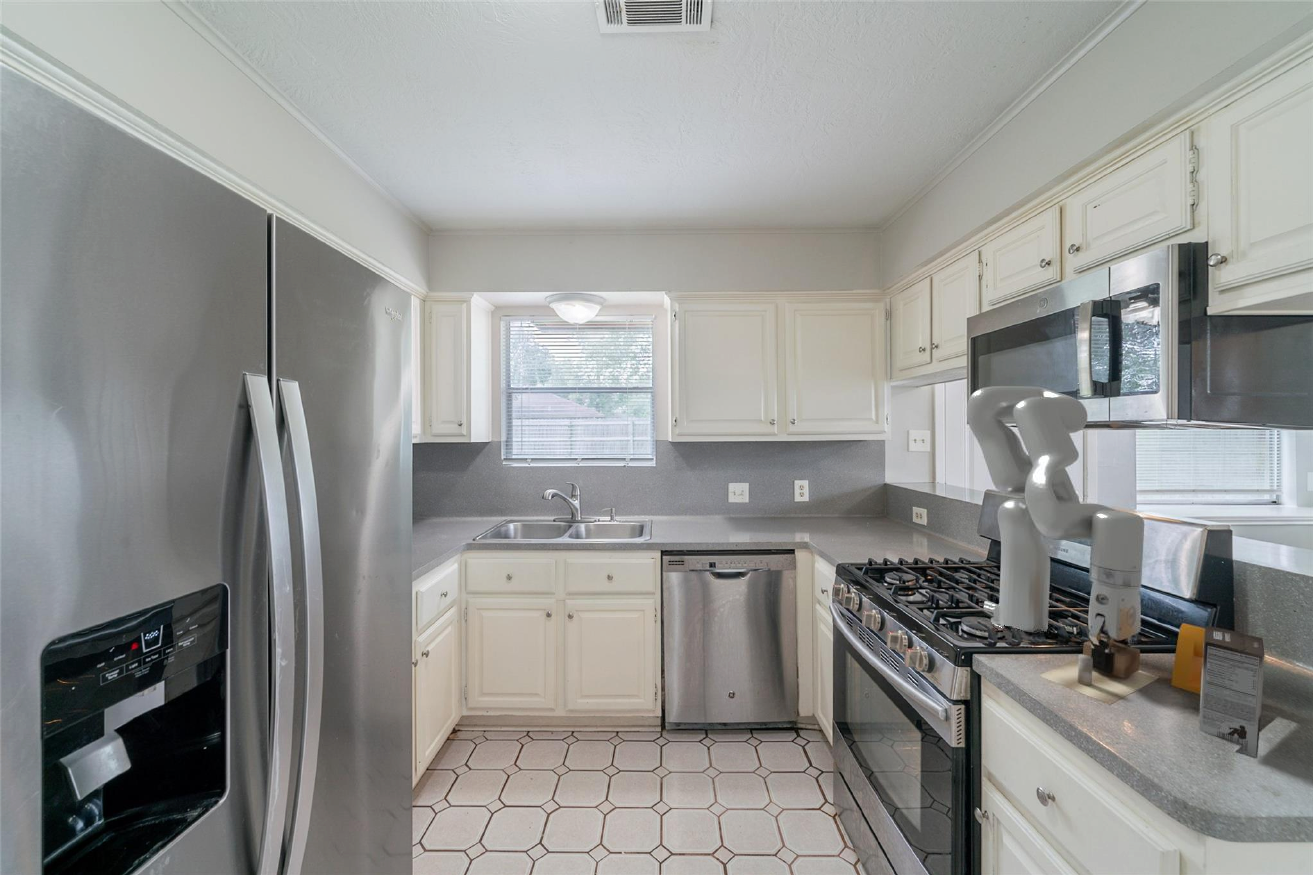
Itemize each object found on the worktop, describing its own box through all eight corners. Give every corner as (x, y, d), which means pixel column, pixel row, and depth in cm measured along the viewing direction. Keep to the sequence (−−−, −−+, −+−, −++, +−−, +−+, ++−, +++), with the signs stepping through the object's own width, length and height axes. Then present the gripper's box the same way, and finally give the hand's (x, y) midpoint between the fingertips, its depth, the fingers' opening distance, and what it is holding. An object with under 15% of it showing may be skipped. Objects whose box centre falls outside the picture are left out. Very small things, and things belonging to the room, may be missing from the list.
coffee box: (1199, 717, 88) (1205, 624, 87) (1257, 734, 83) (1263, 636, 83) (1196, 739, 82) (1202, 639, 81) (1258, 759, 77) (1265, 654, 76)
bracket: (1228, 712, 90) (1232, 644, 89) (1170, 693, 96) (1174, 629, 95) (1241, 694, 96) (1246, 630, 95) (1186, 677, 102) (1190, 617, 101)
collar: (1123, 677, 96) (1124, 656, 96) (1082, 662, 102) (1083, 643, 102) (1139, 670, 99) (1140, 649, 99) (1098, 656, 105) (1099, 636, 105)
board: (1038, 683, 99) (1039, 649, 99) (1089, 660, 108) (1091, 629, 108) (1109, 712, 89) (1111, 676, 89) (1159, 685, 98) (1161, 651, 98)
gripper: (1118, 588, 92) (1113, 686, 93) (1160, 574, 101) (1155, 664, 101) (1069, 576, 99) (1064, 667, 100) (1112, 564, 107) (1107, 649, 108)
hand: (1110, 665), depth 101 cm, fingers closed on collar, 6 cm apart
